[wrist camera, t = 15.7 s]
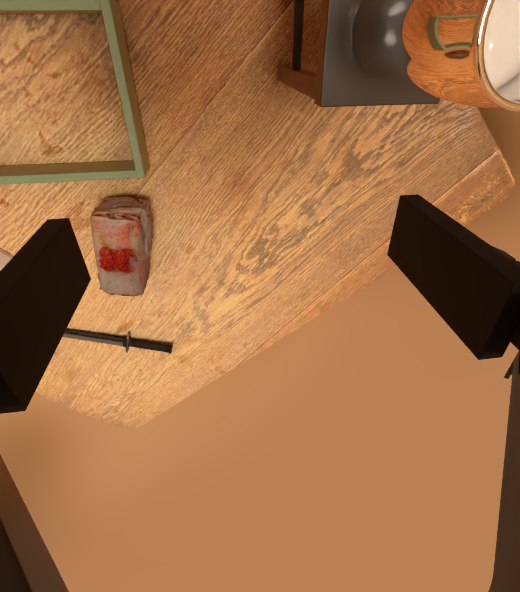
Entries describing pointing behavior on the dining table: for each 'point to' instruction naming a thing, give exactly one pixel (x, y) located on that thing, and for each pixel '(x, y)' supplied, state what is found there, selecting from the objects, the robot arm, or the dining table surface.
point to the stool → (342, 64)
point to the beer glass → (445, 47)
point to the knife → (116, 340)
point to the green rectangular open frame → (105, 4)
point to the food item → (122, 244)
